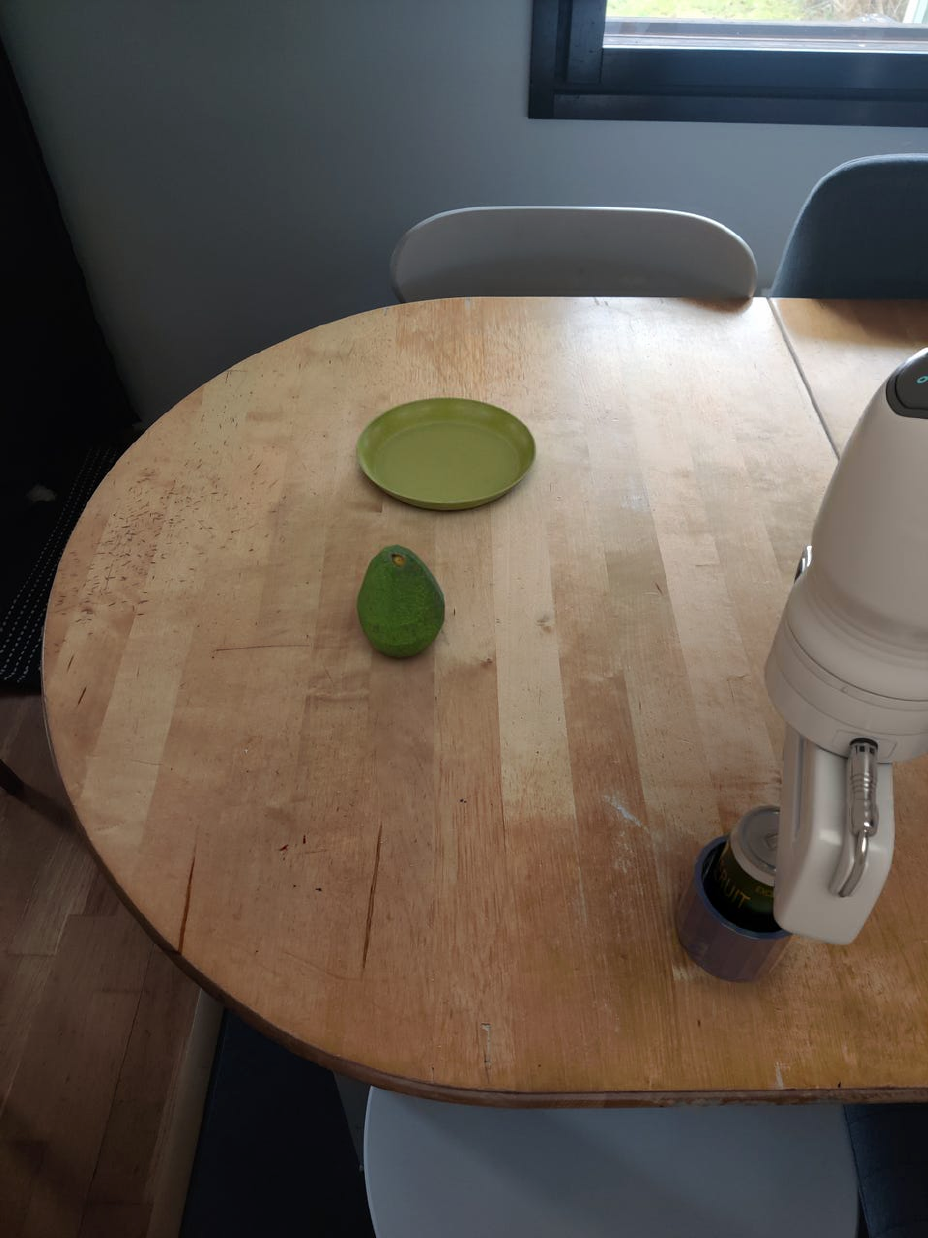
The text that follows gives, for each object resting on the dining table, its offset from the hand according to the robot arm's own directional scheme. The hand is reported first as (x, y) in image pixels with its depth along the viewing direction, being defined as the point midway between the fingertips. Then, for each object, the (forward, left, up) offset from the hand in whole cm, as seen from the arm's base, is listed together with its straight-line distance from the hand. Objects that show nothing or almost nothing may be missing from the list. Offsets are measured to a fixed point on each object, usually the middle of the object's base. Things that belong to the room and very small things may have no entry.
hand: (792, 821), depth 51 cm
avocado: (+32, -19, -15) cm, 40 cm away
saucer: (+37, -47, -15) cm, 62 cm away
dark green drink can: (0, 0, -15) cm, 15 cm away
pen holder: (0, 0, -15) cm, 15 cm away
